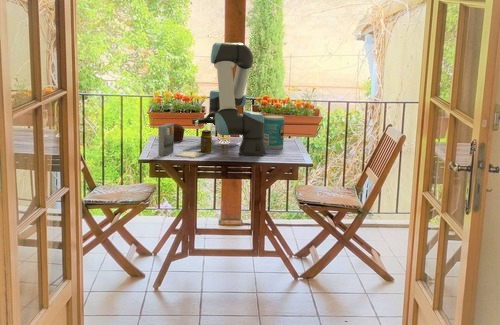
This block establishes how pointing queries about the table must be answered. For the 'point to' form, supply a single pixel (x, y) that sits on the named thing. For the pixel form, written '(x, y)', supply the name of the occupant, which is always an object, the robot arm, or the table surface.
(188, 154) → the tile
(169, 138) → the breaker box
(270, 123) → the food can
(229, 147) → the table surface
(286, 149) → the table surface
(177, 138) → the muffin
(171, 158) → the table surface
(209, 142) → the condiment
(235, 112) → the robot arm
